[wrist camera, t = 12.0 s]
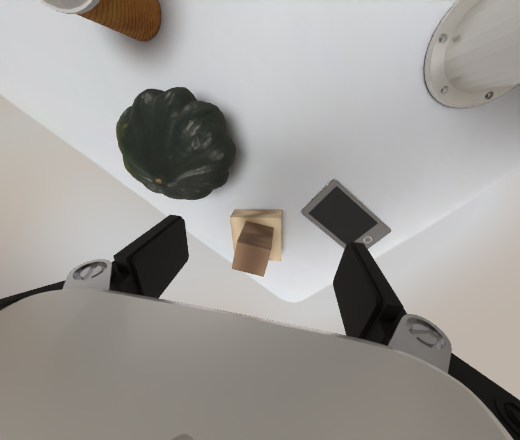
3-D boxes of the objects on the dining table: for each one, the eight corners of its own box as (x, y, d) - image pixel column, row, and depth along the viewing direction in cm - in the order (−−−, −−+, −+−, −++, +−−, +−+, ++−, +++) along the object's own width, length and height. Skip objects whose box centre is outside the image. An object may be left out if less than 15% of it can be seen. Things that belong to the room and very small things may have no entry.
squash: (122, 51, 22) (47, 145, 17) (243, 73, 22) (211, 175, 17) (167, 141, 35) (135, 211, 30) (244, 155, 36) (226, 227, 30)
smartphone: (299, 211, 35) (299, 212, 34) (333, 177, 31) (334, 178, 31) (354, 255, 37) (355, 258, 37) (390, 229, 34) (392, 230, 34)
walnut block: (273, 227, 32) (271, 250, 26) (267, 250, 34) (263, 276, 28) (246, 220, 32) (236, 241, 26) (241, 244, 35) (231, 268, 28)
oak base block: (281, 209, 35) (281, 217, 31) (281, 248, 39) (281, 260, 35) (235, 208, 36) (230, 217, 32) (239, 247, 40) (235, 258, 36)
